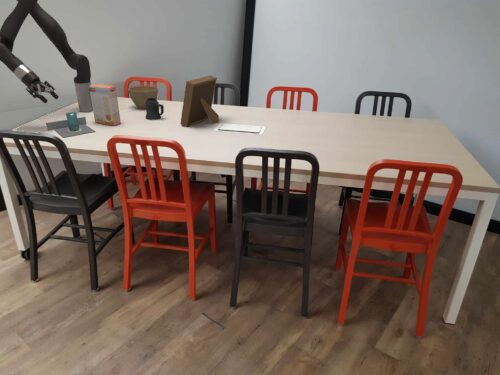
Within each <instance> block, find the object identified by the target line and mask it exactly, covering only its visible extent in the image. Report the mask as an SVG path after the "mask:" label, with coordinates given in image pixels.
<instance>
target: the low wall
mask: <svg viewBox="0 0 500 375" xmlns="http://www.w3.org/2000/svg"><path fill="white" fill-rule="evenodd" d="M77 119H78V124H79V125H83V124H86V125H87V124H88V123H87V120H86V116H82V117H80V116H79V117H77ZM45 125H46V126H45V127H46V130H47V131H55V130H54V129H59V128H65V127H68V122H67V119H63V120H55V121H49V122H45Z"/></svg>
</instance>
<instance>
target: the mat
mask: <svg viewBox="0 0 500 375" xmlns="http://www.w3.org/2000/svg"><path fill="white" fill-rule="evenodd" d="M53 131H55V132H56V133H57V134H58V135H59V136H60V137H62V138H63V139H65V138H70V137H71V138H72V137H75V136H80V135H81V136H82V135H86V134H90V133H91V134H92V133H96V130H94V129H93V128H92V127H90V126H88V125H87V124H83V125H79V131H75V132H71V131H69V127H65V128H59V129H54V130H53Z"/></svg>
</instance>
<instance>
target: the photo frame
mask: <svg viewBox="0 0 500 375" xmlns="http://www.w3.org/2000/svg"><path fill="white" fill-rule="evenodd" d="M217 79H218V77H215V76H212V75H207V76H204V77H199V78H194V79H191V80H186V81H185V82H186V83H185V88H184V89H185V90H184V96H183V103H182V109H181V110H182V111H181V117H180V123H179V124H180V125H182V126H183V127H186V128H187V127H190V126H193V125H195V124H198V123H200V122H202V121H205V120H208V119H209V121H210V124H211V125H212V124H213V125H214V124H219V123H220V119H219V118H220V117H219V114H218V113H217V112H216V111H215V109H213V108H212V107H213V106H212V105H213V103H214V102H213V101H214V95H215V90H216V84H217V81H218V80H217Z"/></svg>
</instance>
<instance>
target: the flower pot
mask: <svg viewBox="0 0 500 375" xmlns="http://www.w3.org/2000/svg"><path fill="white" fill-rule="evenodd" d="M127 90H128V94H129V98H130V99H131V101H132V102H133V104H134V105H135V106H136V107H137V108H138V109H140V110H146V105H145V102H146V99H147V98H156V99H157V98H158V93H159V88H158V87H157V86H151V85H137V86H132V87H129V88H128V89H127Z"/></svg>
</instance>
